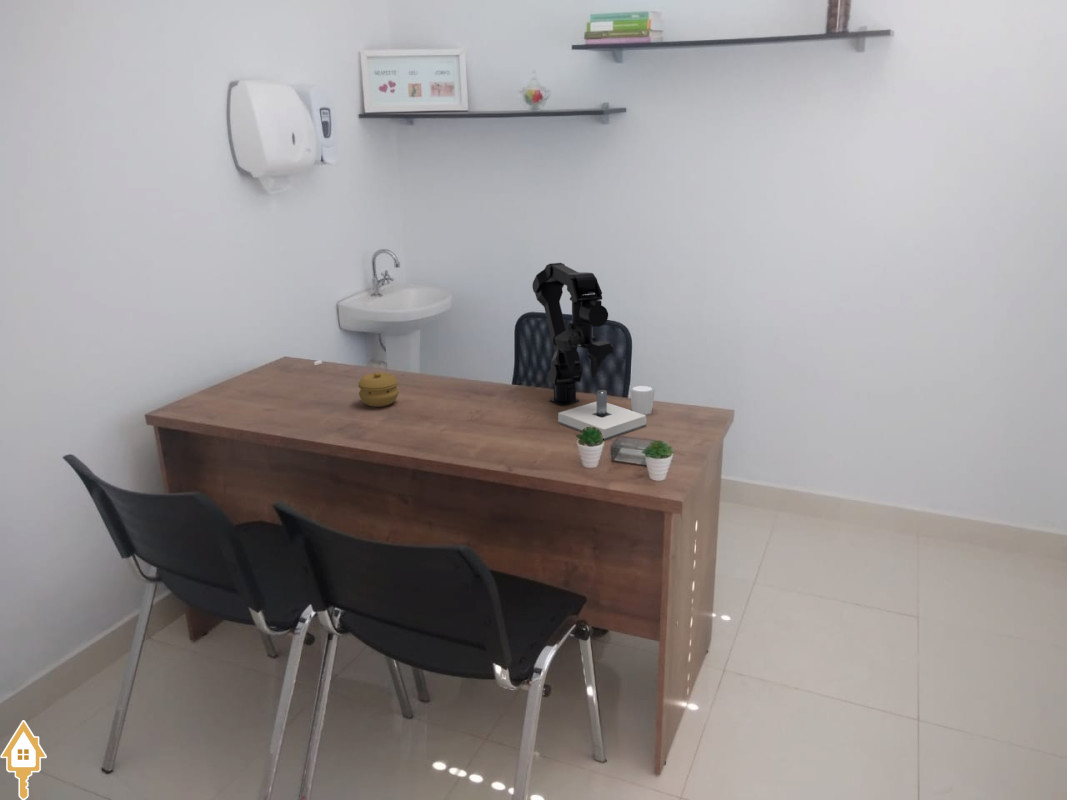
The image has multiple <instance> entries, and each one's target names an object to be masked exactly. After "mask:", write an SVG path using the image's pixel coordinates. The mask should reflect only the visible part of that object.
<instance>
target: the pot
mask: <svg viewBox="0 0 1067 800" xmlns="http://www.w3.org/2000/svg"><path fill="white" fill-rule="evenodd" d="M357 384H358V385H357V387H358V388H359V389H360V390H359V391H358V395H359V398H360V400H361V401H362V402H363V403H364V404H365V405H367V406H370V407H374V408H375V407H376V408H377V407H385V406H389V405H391V404H393V403H394V402H395V401H396V400H397V397H398V395H399V393H400V391H399V390H400V389H399V388H398V387H397V386H398V385H399V380H398V379H397V378H396V377H395V375H393V374H391V373H390V372H389V373H388V372H380V371H376V372H372V373H369V374H365V375H364V376H363V377H361V379H360V380H359V381H358V383H357Z"/></svg>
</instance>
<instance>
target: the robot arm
mask: <svg viewBox="0 0 1067 800" xmlns="http://www.w3.org/2000/svg"><path fill="white" fill-rule="evenodd" d="M531 285H532V291H533V293H534V295H535V297H536V300H537V301H538V302H539V304H540V305H542V306H543V308H544V312H545V316H546V321H547V324H548V325H547V326H548V329H549V333H550V337H551V342H552V347H553V351H554V353H553V356H552V359H551V367H550V369H549V371H548V373H547V380H548V382H549V383H550V384H552V385H553V398H550V399H549V402H552V403H554V404H557V405H561V406H568V405H571V404H574V403H578V402H580V399H579V398H577V387H576V383H577V382H578V383H580V382H581V379H582V375H583V364H582V362H581V359H580V355H579V352H578V351H577V350H578V347H579V348H583V349H586V350H587V352H588V354H587V357H588V358H589V359H590V373H591V374H590V375H591V377H592V378H596V377H597V374H598V372H599V370H600V368H601V367H602V364H603V362H604V361H605V359H606V357H608V356H610V354H613V353H614V350H613V349H614V346H613V344H612V343H611V342H608V341H603V340H600V341H597V337H596V336H594V335H593V332H594V331H593V330H594V329H593V328H594V327H598V328H599V327H602V326H603V325H605V324H606V323H607V321H608V319H609V312H608V309H607V308H606V307H605V306H603V305H602V300H603V295H602V294H603V292H602V289H601V287H600V284H599V282H598V279H597V277H596V276H595V274H594V273H593V272H588V271H587V272H583V271H582V272H581V271H580V272H579V271H576V270H574V269H573V268H571V267H569V266H566V265H565V263H562V262H551V263H548V264H546V265H545V268H544V269H543V270H542V271H540V272H538V273H537V274H536V276H535V277H534V279H533V281H532V284H531ZM564 286H566V291H567V292H568V293H569V295H570V297H569V300H570V301H571V322H569V323H568V325H567V327H566V324H565V320H564V319H565V318H564V315H563V311H562V307H561V302H560V300H561V298H562V295H563V288H564ZM566 328H567V329H566Z"/></svg>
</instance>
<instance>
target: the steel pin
mask: <svg viewBox="0 0 1067 800" xmlns="http://www.w3.org/2000/svg"><path fill="white" fill-rule="evenodd" d="M607 392H608V391H607V390H605V389H599V390H596V392H595V393H596V401H597V416H599V417H601V418H602V417H606V416H607V403H608V393H607Z"/></svg>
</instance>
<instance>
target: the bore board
mask: <svg viewBox="0 0 1067 800" xmlns="http://www.w3.org/2000/svg"><path fill="white" fill-rule="evenodd" d="M557 415H558V417H557V418H558V419H557V420H558V421H557V422H558V424H559V425H563V426H565V427H568V428H571V429H574V430H576V431H579V432H581V431H582V430H583V429H584V428H586V427H590V426H591V427H595V428H598V429H599V430H600V431H601V433H602V435H603V438H604V440H603V441H607V440H610V439H612V438H616V437H618V436H621V435H624V434H626V433H629V432H632V431H636V430H639V429H641V428H644V427H647V415H643V414H640V413H637V412H634V411H632V409H631V410H630V409H628V408H624V407H622V406H618V405H615V404H612V403H609V402H607V416H606V417H602V418H601V417H599V416H597V400H596V401H593V402H590V403H587V404H586V403H585V404H583V405H580V406H577V407H574V408H570V409H566V410H563V411H560V412H558V414H557Z"/></svg>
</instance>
